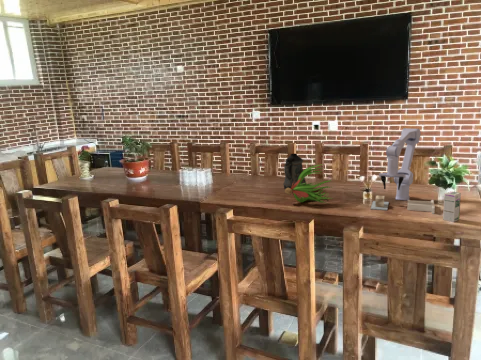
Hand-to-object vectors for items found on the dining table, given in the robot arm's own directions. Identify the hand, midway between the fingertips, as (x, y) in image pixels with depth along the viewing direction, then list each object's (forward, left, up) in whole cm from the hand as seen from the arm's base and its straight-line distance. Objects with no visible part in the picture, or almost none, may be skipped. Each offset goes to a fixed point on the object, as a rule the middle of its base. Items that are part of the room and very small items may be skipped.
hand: (391, 189), depth 232 cm
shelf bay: (+5, +16, -9) cm, 19 cm away
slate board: (+5, -6, -9) cm, 12 cm away
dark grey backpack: (-25, -66, -10) cm, 71 cm away
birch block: (+5, -6, -9) cm, 12 cm away
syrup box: (+21, +30, -10) cm, 38 cm away
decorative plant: (+6, -48, -10) cm, 50 cm away
